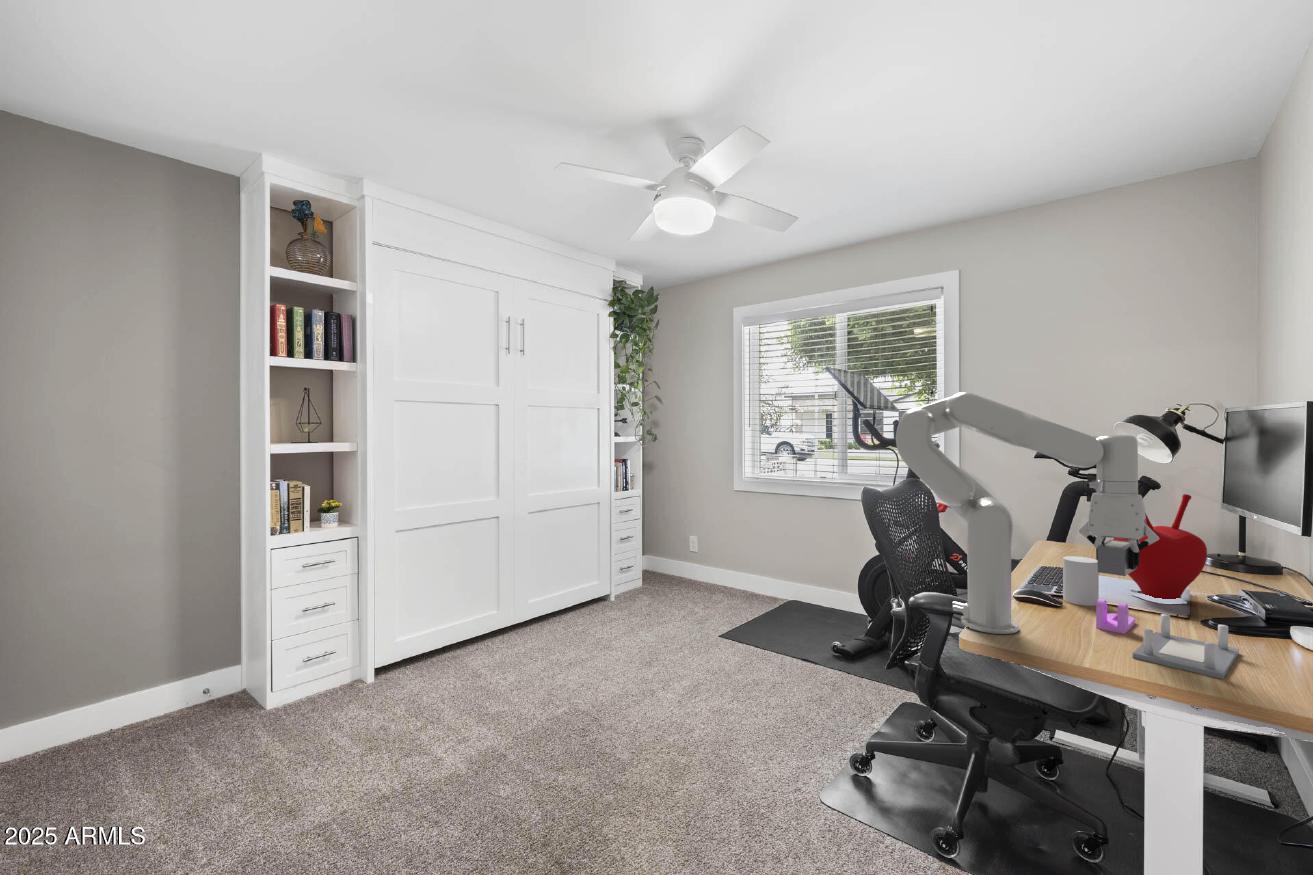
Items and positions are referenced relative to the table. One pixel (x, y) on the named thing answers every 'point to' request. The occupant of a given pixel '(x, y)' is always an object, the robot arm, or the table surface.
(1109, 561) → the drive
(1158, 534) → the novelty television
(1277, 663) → the table surface
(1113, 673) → the table surface
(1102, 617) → the bracket
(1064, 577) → the light grey cylinder
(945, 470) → the robot arm
